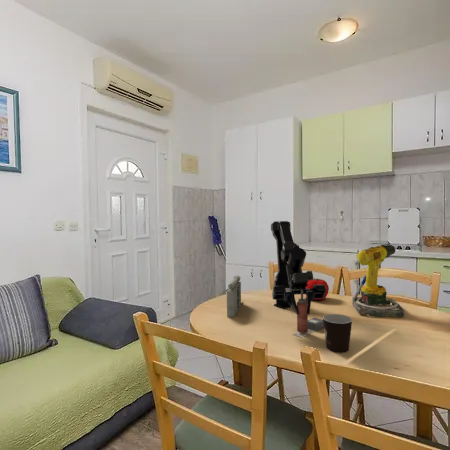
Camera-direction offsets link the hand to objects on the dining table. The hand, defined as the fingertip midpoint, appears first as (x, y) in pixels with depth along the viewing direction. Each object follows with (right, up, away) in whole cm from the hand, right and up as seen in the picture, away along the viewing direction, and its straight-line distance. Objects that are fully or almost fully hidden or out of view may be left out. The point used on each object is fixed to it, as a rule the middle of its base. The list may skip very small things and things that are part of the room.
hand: (303, 313), depth 108 cm
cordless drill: (+39, -6, +27) cm, 48 cm away
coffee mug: (+9, -8, -9) cm, 15 cm away
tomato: (+18, -6, +46) cm, 50 cm away
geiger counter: (-23, -8, +35) cm, 42 cm away
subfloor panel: (0, -8, +8) cm, 11 cm away
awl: (0, -7, +2) cm, 7 cm away
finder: (+6, -7, +7) cm, 12 cm away
